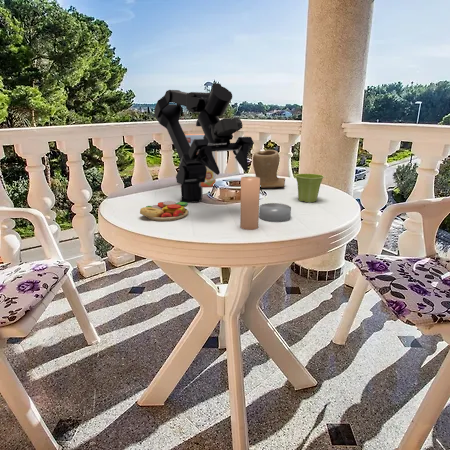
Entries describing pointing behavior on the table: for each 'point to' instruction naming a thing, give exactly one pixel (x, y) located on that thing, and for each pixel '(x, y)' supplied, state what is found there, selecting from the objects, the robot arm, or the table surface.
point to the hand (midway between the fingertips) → (233, 172)
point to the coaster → (274, 212)
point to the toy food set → (165, 211)
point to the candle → (249, 202)
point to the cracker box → (210, 174)
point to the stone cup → (267, 168)
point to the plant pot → (308, 186)
